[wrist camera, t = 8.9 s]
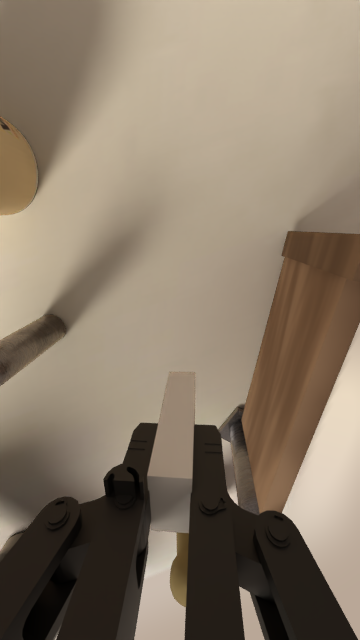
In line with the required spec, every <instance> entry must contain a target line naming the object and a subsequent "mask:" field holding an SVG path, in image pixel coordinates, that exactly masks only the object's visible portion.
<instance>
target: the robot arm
mask: <svg viewBox="0 0 360 640" xmlns="http://www.w3.org/2000/svg"><path fill="white" fill-rule="evenodd" d="M194 424H195V373H191V372H169V377H168V381H167V386H166V390H165V395H164V400H163V404H162V409H161V414H160V418H159V423H140V424H139V425H138V426H137V427H136V429H135V430H134V431H133V434H132V437H131V441H130V443H129V446H128V450H127V452H126V455H125V458H124V461H123V464H120V465H118V466H116V467H113V468H112V469H111V470H110V471H109V472H108V473H107V474H106V476H105V478H104V479H103V480H104V487H105V494H106V495H105V496H103V497H101V498H99V499H97V500H94V501H90V502H86V503H82V504H78V501H77V500H75V499H74V498H72V497H62V498H58V499H56V500H54V501H52V502H51V503H49V504H48V505H47V506H46V507H45V508H44V509H43V510H42V511H41V512H40V513H39V514H38V516H37V517H36V518H35V519H34V521H33V522H32V523H31V524H30V526H29V527H28V528H27V529H26V531H25V532H24V533H19V534H16V535H14V536H12V537H10V538H9V539H8V540H7V541H6V543H5V545H4V546H3V548H2V549H1V551H0V640H55V638H56V636H57V634H58V636H57V639H56V640H134V636H135V630H136V623H137V618H138V611H139V605H140V599H141V592H142V586H143V580H144V574H145V567H146V561H147V555H148V535H149V529H150V525H151V530H154V531H167V532H179V533H189V542H188V568H187V594H186V619H185V620H186V621H185V640H245V637H244V629H243V619H242V609H241V600H240V591H239V586H240V587H242V588H243V589H246V590H247V591H249V592H250V594H251V598H252V601H253V604H254V607H255V610H256V613H257V616H258V620H259V623H260V626H261V629H262V632H263V636H264V639H265V640H358V639H357V637H356V635H355V633H354V631H353V629H352V628H351V626H350V624H349V622H348V620H347V618H346V617H345V615H344V613H343V611H342V609H341V607H340V606H339V604H338V602H337V600H336V598H335V597H334V595H333V593H332V591H331V589H330V588H329V585H328V584H327V582H326V580H325V578H324V576H323V574H322V572H321V571H320V569H319V567H318V565H317V563H316V561H315V560H314V558H313V556H312V554H311V552H310V550H309V548H308V547H307V545H306V543H305V541H304V539H303V538H302V536H301V534H300V532H299V530H298V529H297V527H296V526H295V524H294V523H293V522H292V520H290V519H289V518H288V517H287V516H285V515H284V514H282V513H280V512H277V511H272V510H267V511H264V512H262V513H260V514H259V516H258V515H256V514H253V513H251V512H249V511H246V510H244V509H242V508H241V507H239V506H238V505H237V504H236V503H234V501H233V500H232V499H231V498H230V496H229V494H228V492H227V488H226V480H225V470H224V461H223V451H222V441H221V434H220V432H219V431H218V429H217V427H216V426H214V425H194Z"/></svg>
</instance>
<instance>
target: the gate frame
mask: <svg viewBox="0 0 360 640" xmlns="http://www.w3.org/2000/svg"><path fill="white" fill-rule="evenodd" d="M65 333H66V326H65V324H64V322H63V321H62V320H61V319H60V318H59V317H57V316H55V315H52V314H48V315H45V316H43V317H41V318H39V319H37V320H36V321H34V322H32V323H30V324H28V325H27V326H25V327H23V328H21V329H19V330H18V331H16V332H14V333H12V334H10V335H8V336H7V337H5V338H3V339H1V340H0V386H1V385H3V384H4V383H5V382H6V381H8V380H9V379H10V378H11V377H13V376H14V375H15V374H17V373H18V372H19V371H20V370H22V369H23V368H24V367H26V366H27V365H28V364H29V363H31V362H32V361H33V360H35V359H36V358H37V357H38V356H40V355H41V354H42V353H44V352H45V351H46V350H47V349H49V348H50V347H51V346H52V345H54V344H55V343H56V342H58V341H59V340H60V339H61V338H63V337H64V335H65ZM243 412H244V410H243V409H241V408H239V407H237V408H236V409H235V410H234V411H233V413H232V414H231V415H230V416H229V417H228V419H227V420H226V421H225V422H224V423H223V425H222V426H221V427H220V428H219V429H218V431H219V432H220V434H221V438H223V439H225V440H227V441H228V442H230V443H231V450H232V458H233V466H234V474H235V481H236V489H237V497H238V505H239V507H241V508H242V509H244V510H246V511H249V512H251V513H253V514H256V515H258V516H259V514H260V512H259V507H258V502H257V497H256V492H255V487H254V481H253V476H252V471H251V466H250V461H249V456H248V451H247V446H246V441H245V436H244V431H243V426H242V420H241V419H242V415H243Z"/></svg>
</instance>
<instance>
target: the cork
mask: <svg viewBox="0 0 360 640" xmlns="http://www.w3.org/2000/svg"><path fill="white" fill-rule="evenodd" d="M188 542H189V533H179V532H177V556H176V558H175V559H174V561H173V563H172V567H171V573H170V588H171V591H172V594H173V596H174V599H176V600H177V602H178V603H180V604H181V605H182V606H184V607H186V594H187V568H188Z"/></svg>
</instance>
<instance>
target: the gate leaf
mask: <svg viewBox="0 0 360 640" xmlns="http://www.w3.org/2000/svg"><path fill="white" fill-rule="evenodd" d="M282 256H284V257H285V258H284V262H283V266H282V269H281V273H280V277H279V281H278V284H277V288H276V292H275V296H274V299H273V303H272V307H271V311H270V314H269V318H268V322H267V326H266V329H265V333H264V337H263V341H262V344H261V348H260V352H259V355H258V359H257V363H256V367H255V370H254V374H253V378H252V382H251V385H250V389H249V393H248V397H247V400H246V404H245V408H244V412H243V415H242V419H241V420H242V426H243V431H244V436H245V441H246V446H247V451H248V456H249V461H250V466H251V471H252V476H253V481H254V487H255V492H256V497H257V502H258V507H259V512H260V513H262V512H264V511H267V510H272V511H277V512H280V513H282V511H283V509H284V506H285V504H286V501H287V499H288V496H289V494H290V491H291V489H292V487H293V484H294V482H295V479H296V477H297V474H298V472H299V469H300V467H301V465H302V462H303V460H304V457H305V455H306V452H307V450H308V447H309V445H310V443H311V440H312V438H313V435H314V433H315V430H316V428H317V425H318V423H319V421H320V418H321V416H322V413H323V411H324V408H325V406H326V403H327V401H328V398H329V396H330V394H331V391H332V389H333V386H334V384H335V381H336V379H337V376H338V374H339V372H340V369H341V367H342V364H343V362H344V359H345V357H346V354H347V352H348V350H349V347H350V345H351V342H352V340H353V337H354V335H355V332H356V330H357V328H358V325H359V323H360V234H343V233H320V232H296V231H288V233H287V237H286V241H285V245H284V248H283V252H282Z"/></svg>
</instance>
